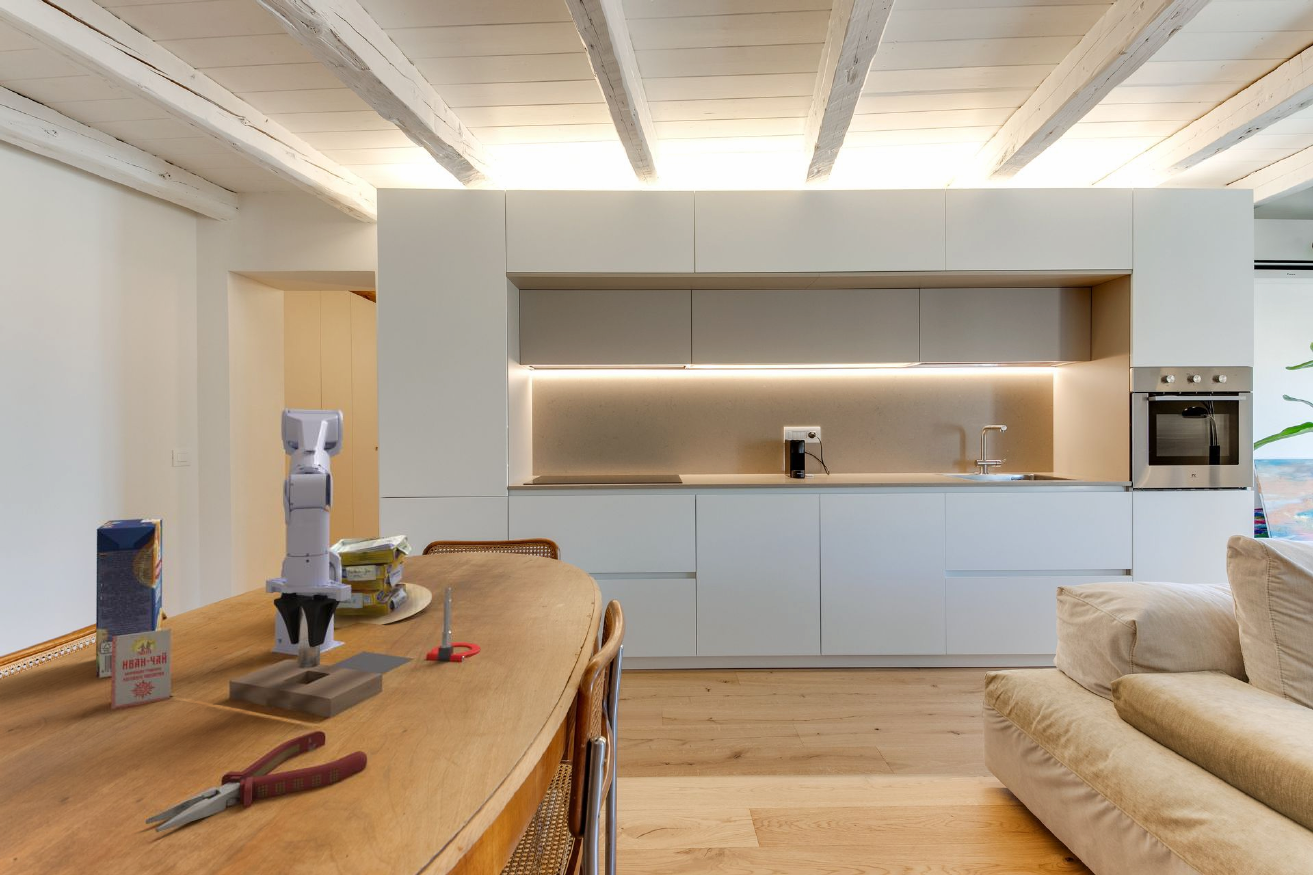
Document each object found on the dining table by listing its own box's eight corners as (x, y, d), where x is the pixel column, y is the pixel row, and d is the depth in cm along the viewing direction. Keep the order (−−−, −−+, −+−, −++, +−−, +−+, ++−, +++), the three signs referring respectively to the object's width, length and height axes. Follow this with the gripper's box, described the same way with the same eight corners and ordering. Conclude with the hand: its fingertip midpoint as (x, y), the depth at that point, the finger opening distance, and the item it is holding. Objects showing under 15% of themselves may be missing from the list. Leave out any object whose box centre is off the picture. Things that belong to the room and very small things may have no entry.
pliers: (129, 818, 68) (129, 793, 68) (320, 745, 85) (320, 724, 85) (174, 860, 62) (174, 833, 62) (371, 772, 79) (371, 750, 78)
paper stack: (390, 632, 132) (391, 548, 132) (282, 623, 136) (282, 543, 136) (451, 601, 156) (451, 531, 156) (357, 595, 161) (358, 527, 161)
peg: (292, 666, 98) (294, 606, 98) (308, 661, 101) (311, 602, 101) (308, 669, 97) (310, 608, 97) (324, 663, 100) (326, 603, 100)
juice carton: (154, 669, 110) (154, 526, 109) (95, 678, 106) (96, 529, 105) (161, 649, 120) (162, 517, 120) (108, 656, 116) (109, 520, 116)
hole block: (229, 701, 97) (229, 680, 97) (287, 677, 107) (287, 659, 107) (330, 720, 91) (330, 698, 91) (382, 693, 101) (382, 673, 101)
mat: (314, 674, 108) (314, 672, 108) (363, 653, 118) (363, 651, 118) (367, 683, 105) (367, 680, 105) (414, 660, 115) (414, 658, 115)
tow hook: (445, 647, 124) (420, 661, 115) (447, 578, 124) (423, 587, 115) (487, 650, 123) (466, 665, 113) (489, 580, 123) (468, 589, 114)
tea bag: (113, 701, 97) (113, 633, 97) (170, 690, 101) (170, 625, 101) (111, 709, 94) (111, 639, 94) (170, 698, 98) (170, 631, 98)
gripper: (247, 554, 97) (247, 646, 97) (324, 561, 93) (324, 657, 93) (288, 547, 104) (287, 632, 104) (362, 553, 99) (361, 642, 99)
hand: (307, 643), depth 99 cm, fingers closed on peg, 3 cm apart
